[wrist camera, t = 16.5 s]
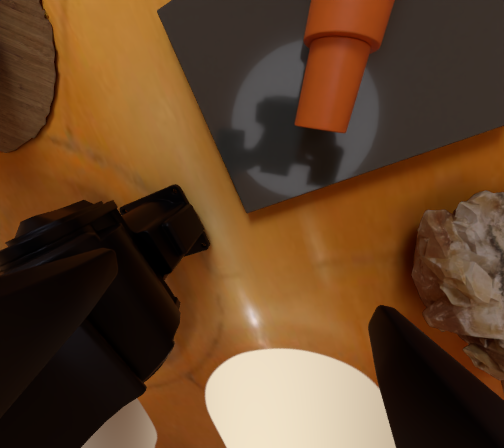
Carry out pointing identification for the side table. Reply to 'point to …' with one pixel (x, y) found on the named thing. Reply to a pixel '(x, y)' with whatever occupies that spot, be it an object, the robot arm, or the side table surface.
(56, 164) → the side table surface
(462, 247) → the mineral specimen
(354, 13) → the carrot
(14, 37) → the ceramic pot
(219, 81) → the slate board
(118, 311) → the robot arm
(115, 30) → the side table surface
